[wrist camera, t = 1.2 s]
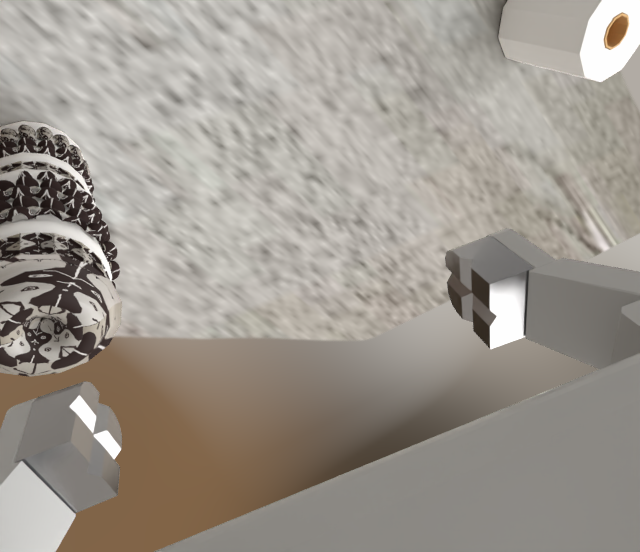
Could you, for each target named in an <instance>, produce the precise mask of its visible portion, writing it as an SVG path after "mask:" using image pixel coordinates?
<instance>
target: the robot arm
mask: <svg viewBox="0 0 640 552" xmlns="http://www.w3.org/2000/svg"><path fill="white" fill-rule="evenodd" d="M445 261H446V267H447V268H448V269H449V270H450V271H451V272H452V274H451V276H450V278H449V279H448V281H447V287H448V294H449V297H450V300H451V303H452V305H453V307H454V308H455V310H456V312H457V313H458V314H459V315H460V316H461V318H462V319H465V320H468V321H471V322H473V329H474V332H475V333H476V334H477V335H478V336H479V337H480V339H482V341H483V342H484V343H485V344H486V345H487V346H488V347H489V348H490V349H493V348H495V347H498V346H501V345H504V344H506V343H509V342H512V341H515V340H517V339H520V338H523V337H526V339H528V340H530V341H533V342H535V343H538V344H540V345H542V346H545V347H547V348H550V349H552V350H554V351H557V352H559V353H562V354H564V355H566V356H569V357H571V358H574V359H576V360H579V361H581V362H583V363H586V364H588V365H591V366H593V367H596V368H598V369H599V370H597V371H595V372H592V373H589V374H587V375H584V376H582V377H580V378H577V379H575V380H573V381H570V382H567V383H565V384H563V385H560V386H558V387H555V388H553V389H550V390H548V391H545V392H543V393H541V394H538V395H536V396H533V397H531V398H528V399H526V400H523V401H521V402H519V403H516V404H514V405H511V406H509V407H506V408H504V409H501V410H499V411H497V412H494V413H492V414H489V415H487V416H484V417H482V418H479V419H477V420H475V421H472V422H470V423H467V424H465V425H462V426H460V427H457V428H455V429H453V430H451V431H448V432H445V433H443V434H440V435H438V436H436V437H433V438H431V439H428V440H426V441H423V442H421V443H419V444H416V445H413V446H411V447H409V448H406V449H404V450H401V451H399V452H396V453H394V454H392V455H389V456H387V457H384V458H382V459H379V460H377V461H374V462H372V463H369V464H367V465H365V466H362V467H360V468H357V469H355V470H352V471H350V472H348V473H345V474H343V475H340V476H338V477H335V478H333V479H330V480H328V481H326V482H323V483H321V484H318V485H316V486H313V487H311V488H308V489H306V490H304V491H301V492H299V493H296V494H294V495H292V496H289V497H286V498H284V499H282V500H279V501H277V502H274V503H272V504H269V505H267V506H265V507H262V508H260V509H257V510H255V511H253V512H250V513H248V514H245V515H243V516H240V517H238V518H235V519H233V520H230V521H228V522H226V523H223V524H221V525H218V526H216V527H213V528H211V529H208V530H206V531H204V532H201V533H199V534H196V535H194V536H191V537H189V538H186V539H184V540H182V541H179V542H177V543H174V544H172V545H169V546H167V547H164V548H162V549H160V550H157V551H155V552H640V272H638V271H633V270H627V269H622V268H616V267H611V266H605V265H599V264H594V263H588V262H583V261H578V260H572V259H567V258H561V259H559V260H556V259H555V258H553V257H552V256H550V255H549V254H547V253H546V252H544V251H543V250H542V249H540V248H539V247H537V246H536V245H534V244H533V243H531V242H530V241H529V240H527V239H526V238H524V237H523V236H521V235H520V234H518V233H517V232H516V231H514V230H513V229H509V228H505V229H503V230H500V231H498V232H495V233H493V234H490V235H488V236H486V237H484V238H482V239H479V240H476V241H473V242H471V243H468V244H465V245H462V246H460V247H457V248H454V249H452V250H449V251H447V252H446V256H445ZM98 399H99V392H98V391H97V390H96V388H95V387H94V386H93V385H92V383H90V382H82V383H79V384H76V385H73V386H70V387H67V388H64V389H61V390H58V391H55V392H52V393H49V394H46V395H44V396H40V397H38V398H36V399H32V400H30V401H27V402H24V403H21V404H18V405H15V406H13V407H12V408H10V409H9V410H8V411H7V413H6V416H5V419H4V422H3V424H2V427H1V430H0V552H55V551H56V550H57V548H58V546H59V545H60V543H61V541H62V539H63V537H64V536H65V534H66V532H67V531H68V529H69V527H70V525H71V523H72V522H73V520H74V518H75V516H76V514H75V513H77V512H79V511H82V510H84V509H86V508H89V507H91V506H93V505H96V504H98V503H101V502H103V501H105V500H108V499H110V498H112V497H115V496H117V495H118V483H119V472H120V467H119V465H118V464H117V463H116V461H115V460H114V459H115V457H116V456H117V454H118V453H119V452H120V450H121V444H122V443H121V442H122V435H121V431H120V425H119V422H118V420H117V418H116V416H115V414H114V413H113V411H112V410H111V408H110V407H108V406H105V405H102V404H99V403H98Z"/></svg>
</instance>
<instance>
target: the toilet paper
mask: <svg viewBox="0 0 640 552" xmlns="http://www.w3.org/2000/svg"><path fill="white" fill-rule="evenodd" d="M498 38H499V41H500V44H501V47H502V49H503V52H504V55H505V58H508V59H511V60H515V61H518V62H521V63H525V64H529V65H533V66H537V67H541V68H546V69H550V70H554V71H558V72H562V73H566V74H570V75H574V76H578V77H582V78H586V79H590V80H594V81H598V82H602V81H604V80H605V79H607V78H608V77H610V76H612V75H613V74H615V73H616V72H618V71H619V70H621V69H622V68H623V67H624V65H625V64H626V63H627V61H628V59H629V58H630V57H631V55H632V54H633V53H634V51H635V50H636V48H637V47H638V46H639V44H640V0H508V1H507V2H506V4H505V5H504V7H503V11H502V17H501V23H500V29H499V35H498Z"/></svg>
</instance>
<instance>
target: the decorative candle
mask: <svg viewBox="0 0 640 552" xmlns="http://www.w3.org/2000/svg"><path fill="white" fill-rule="evenodd" d="M93 190H94V186H93V184H92V180H91V177H90V171H89V169H88V164H87V163H86V161H85V159H84V157H83V155H82V152H81V150H80V148H79V146H78V145H77V144H76V143H75V142H74V141H73V140H72V139H71V138H70V137H68V136H67V135H66V134H65V133H64V132H62V131H60V130H58V129H56V128H54V127H51V126H49V125H47V124H45V123H38V122H29V121H19V122H15V123H11V124H7V125H3V126H1V127H0V372H1V373H8V374H15V375H22V376H36V375H44V374H53V373H60V372H63V371H65V370H68V369H70V368H73V367H75V366H78V365H80V364H83V363H85V362H88V361H89V360H90V359H92V358H93V357H94V356H95V355H97V354H98V353H99V352H100V351H102V350H103V349H104V348H105V347H106V346H108V345H109V343H110V342H111V340H112V338H113V337H114V335H115V333H116V331H117V330H118V328H119V326H120V324H121V308H122V301H121V299H120V297H119V295H118V293H117V291H116V286H115V283H114V282H113V281H112V280H114V279H116V278H117V277H118V275H119V273H120V268H119V265H118V264H117V263H116V262H115V261H112V260H113V259H115V258H116V256H117V249H116V247H115V245H114V244H113V243H111V242H110V241H109V239H110V234H109V232H108V226H107V225H106V223H105V222H104V221H102V220H101V219H102V214H101V211H100V210H99V209H98V208H97V207H96V205H95V199H94V197H93ZM108 262H109V263H108Z"/></svg>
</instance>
